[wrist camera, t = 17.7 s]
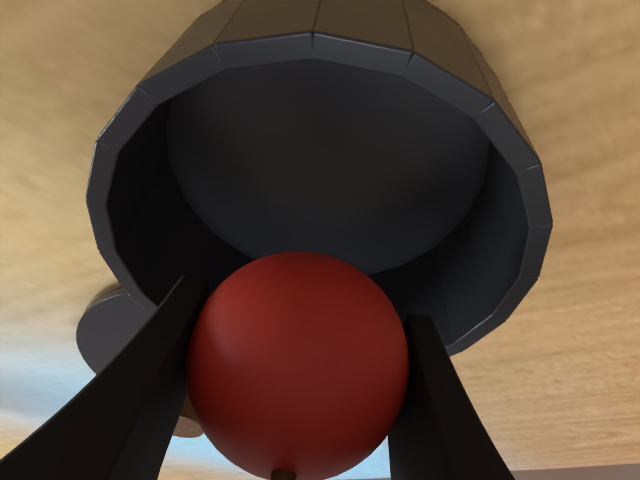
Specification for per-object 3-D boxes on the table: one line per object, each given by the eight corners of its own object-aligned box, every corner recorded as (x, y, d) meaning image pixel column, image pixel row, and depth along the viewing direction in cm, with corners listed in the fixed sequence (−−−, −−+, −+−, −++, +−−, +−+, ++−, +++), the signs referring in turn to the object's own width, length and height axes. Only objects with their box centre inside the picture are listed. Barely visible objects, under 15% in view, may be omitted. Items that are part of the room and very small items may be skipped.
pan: (167, 252, 21) (121, 349, 17) (136, -74, 13) (27, -29, 8) (431, 297, 22) (446, 401, 18) (580, 20, 13) (673, 103, 9)
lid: (105, 390, 32) (74, 458, 28) (59, 252, 22) (2, 329, 19) (301, 420, 32) (293, 490, 29) (339, 299, 23) (334, 382, 19)
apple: (216, 319, 14) (146, 547, 10) (218, 189, 11) (108, 453, 6) (376, 345, 14) (379, 579, 10) (429, 227, 11) (471, 507, 6)
